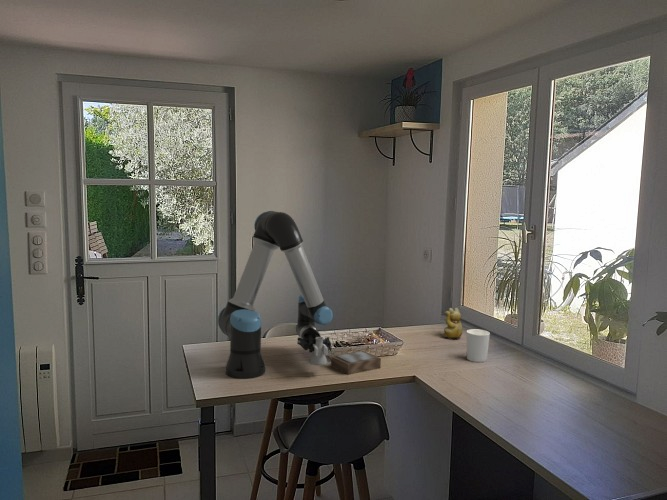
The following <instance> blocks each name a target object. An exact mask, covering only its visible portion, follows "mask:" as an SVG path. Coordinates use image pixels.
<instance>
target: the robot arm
mask: <svg viewBox="0 0 667 500" xmlns="http://www.w3.org/2000/svg"><path fill="white" fill-rule="evenodd" d="M253 228H254V233H253V236H252V240H253V242H254V244H253V246H252V248H251V251H250V253H249V255H248V256H249V257H248V259H247V261H246V264H245V266H244V269H243V272H242V275H241V277H240V279H239V282H238V285H237V287H236V290H235V291H234V295H233V297H232V298H230V299H228V300H227V302H226V305H225V307H224V308H222V309H221V311H220V312H219V314H218V316H217V324H218V328H219V329H220V331H221V332H222V333H223V334H224V335H226V336H227V337H228V338H230V341H229V342H230V344H229V345H230V347H229V348H230V351H229V355H228V358H227V362H226V364H225V374H226V376H228V377H231V378H234V379H235V378H236V379H253V378H257V377H260V376H263V375H264V374H265V373H266V364H265V361H264V358H263V355H262V325H263V324H262V316H261V314H260V313H259V312H257V311H256V309H255V307H254V303H255V300H256V298H257V296H258V293H259V290H260V288H261V285H262V283H263V281H264V277H265V275H266V273H267V269H268V267H269V264H270V263H271V259H272V257H273V254H274V251H275V250H278V249H280V251H281V252H283V253H284V255H285V257H286V260H287V262H288V265H289V267H290V270H291V271H292V274H293V276H294V279H295V281H296V284H297V286H298V288H299V291H300V293H301V294H300V295H299V296H298V302H297V305H298V306H297V307H298V308H297V323H296V326H295V331H296V334H297V336H298V337H297V345H298V346H300V347H301V348H302V349H303V350H305V351H308V350H309V351H308V352H309V353H313V352H314V354H315V355H316V356H318V348H317V346H316V339H315V338H316V337H322V338H324V337H323V336H322V335H321V334H320V332H319V331H318V330H317V329H316V324H318V325H322V326H325V325H328V324H329V323H331V322H332V320H333V317H334V315H333V314H334V313H333V311H332V309H331V308H330V307H328V306H327V304H326V302H325V299H324V297H323V295H322V292H321V290H320V287H319V284H318V282H317V280H316V277H315V275H314V272H313V269H312V267H311V264H310V261H309V260H308V257H307V254H306V251H305V249H304V246H303V244H304V239H303V237H302V235H301V232H300V230H299V228H298V226H297V223H296V221H295V220H294V219H293V217H292V216H291V215H289V214H288V213H286V212H283V211H274V210H268V211H264V212H261V213H260V214H259V215H258V216H257V217H256V219H255V221H254V227H253ZM331 349H332V343H331V341H330V336H326V337H325V338H324V340H323V352H324V354H325V356H329V350H331Z"/></svg>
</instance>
